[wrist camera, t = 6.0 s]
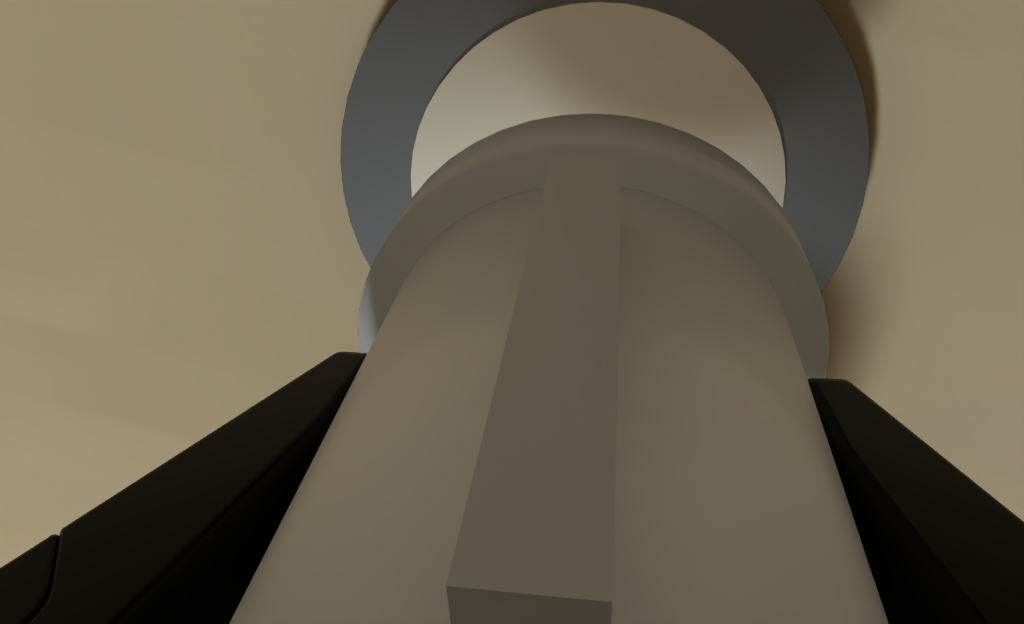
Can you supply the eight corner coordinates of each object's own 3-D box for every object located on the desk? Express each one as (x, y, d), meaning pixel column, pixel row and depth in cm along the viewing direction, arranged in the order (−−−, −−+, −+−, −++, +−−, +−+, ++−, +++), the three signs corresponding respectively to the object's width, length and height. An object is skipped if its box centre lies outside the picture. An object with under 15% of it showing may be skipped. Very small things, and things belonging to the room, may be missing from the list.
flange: (929, -108, 10) (943, -105, 10) (807, 400, 15) (811, 416, 14) (307, -92, 11) (294, -90, 11) (380, 374, 16) (374, 389, 16)
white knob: (771, 488, 10) (952, 1303, 5) (405, 460, 11) (158, 1140, 5) (861, 97, 7) (1704, 1026, 2) (350, 92, 8) (-356, 728, 2)
